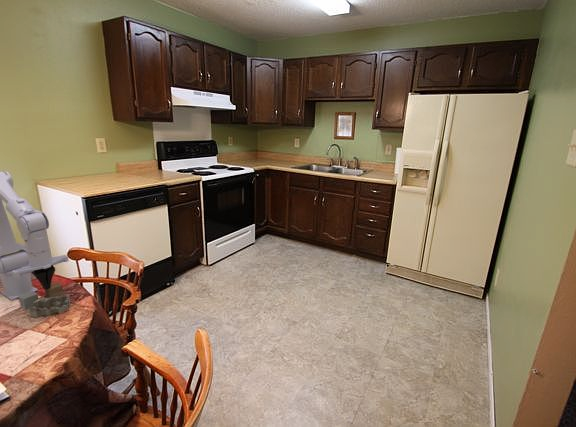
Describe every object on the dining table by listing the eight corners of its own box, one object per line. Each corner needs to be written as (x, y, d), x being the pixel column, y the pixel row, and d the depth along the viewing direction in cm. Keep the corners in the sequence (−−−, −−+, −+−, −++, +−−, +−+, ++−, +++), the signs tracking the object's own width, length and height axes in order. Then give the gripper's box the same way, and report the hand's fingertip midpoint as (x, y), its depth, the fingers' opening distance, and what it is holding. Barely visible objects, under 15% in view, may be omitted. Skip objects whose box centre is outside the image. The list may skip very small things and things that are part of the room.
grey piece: (27, 320, 99) (24, 309, 97) (36, 307, 105) (33, 297, 104) (67, 313, 102) (64, 303, 101) (72, 301, 109) (70, 291, 108)
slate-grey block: (20, 305, 105) (18, 295, 104) (34, 300, 109) (32, 290, 108) (25, 309, 104) (23, 299, 102) (39, 304, 107) (37, 293, 106)
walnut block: (46, 296, 112) (44, 286, 111) (58, 291, 115) (56, 281, 114) (51, 299, 110) (49, 289, 109) (64, 294, 113) (62, 284, 112)
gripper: (15, 261, 90) (25, 302, 94) (70, 245, 102) (76, 282, 106) (5, 255, 93) (15, 295, 97) (59, 241, 105) (66, 277, 109)
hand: (46, 288), depth 102 cm, fingers closed
